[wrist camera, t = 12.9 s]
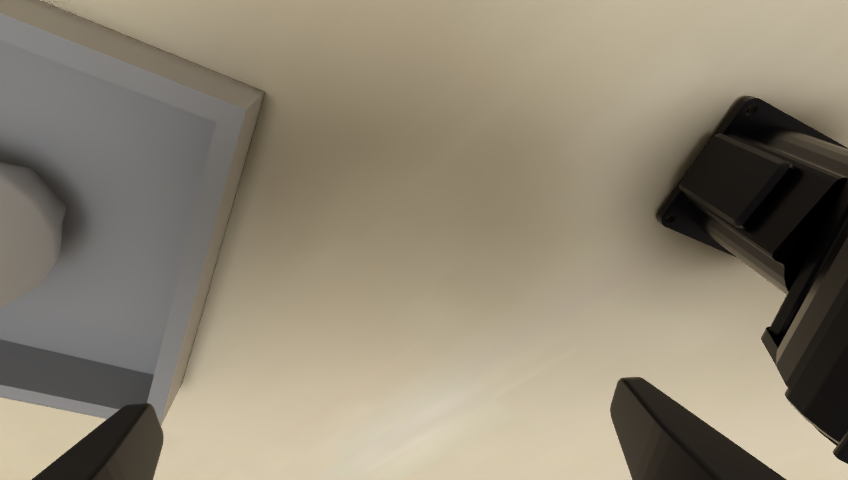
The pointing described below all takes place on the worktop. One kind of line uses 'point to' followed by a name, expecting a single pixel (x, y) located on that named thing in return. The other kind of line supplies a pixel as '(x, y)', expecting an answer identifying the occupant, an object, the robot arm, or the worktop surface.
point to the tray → (115, 206)
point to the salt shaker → (27, 231)
